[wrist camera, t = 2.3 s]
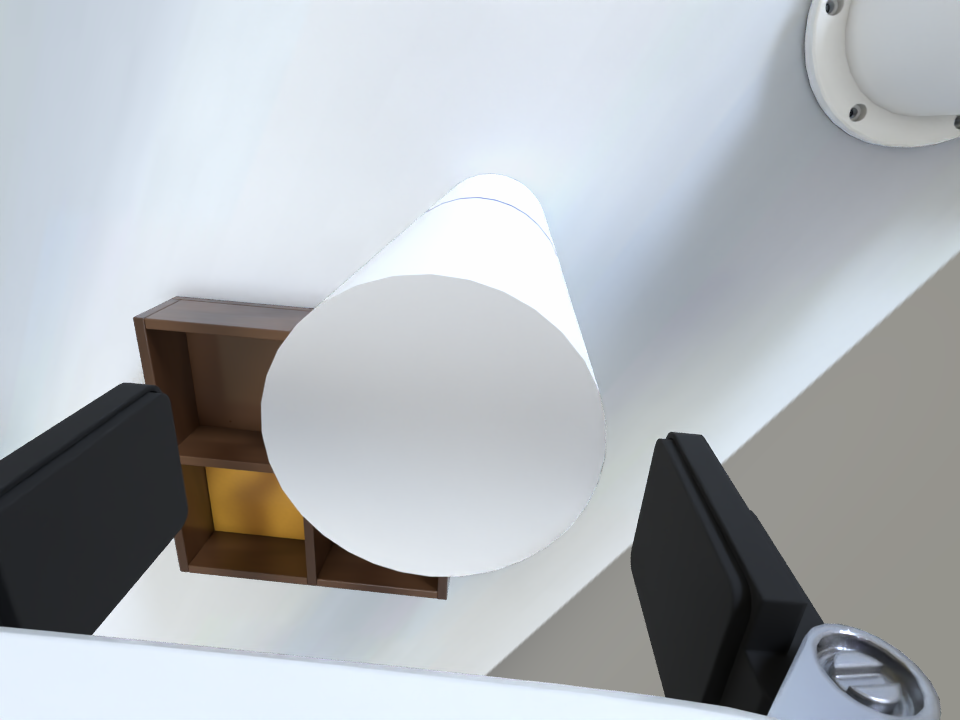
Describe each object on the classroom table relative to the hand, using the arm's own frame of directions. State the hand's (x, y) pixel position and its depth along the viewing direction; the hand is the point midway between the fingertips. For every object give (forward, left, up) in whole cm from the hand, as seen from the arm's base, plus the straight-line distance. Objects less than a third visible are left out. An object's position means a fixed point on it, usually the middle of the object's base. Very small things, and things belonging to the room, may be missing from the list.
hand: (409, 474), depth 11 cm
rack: (+11, +16, -26) cm, 32 cm away
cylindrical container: (0, 0, -26) cm, 26 cm away
